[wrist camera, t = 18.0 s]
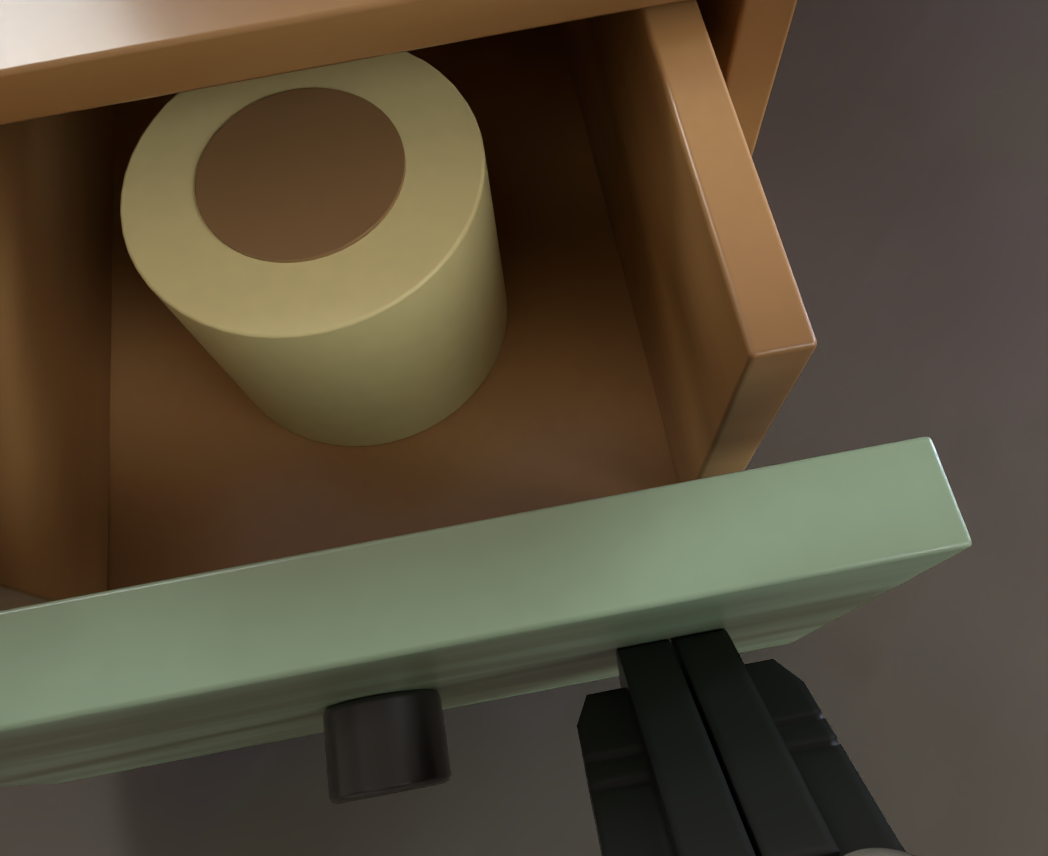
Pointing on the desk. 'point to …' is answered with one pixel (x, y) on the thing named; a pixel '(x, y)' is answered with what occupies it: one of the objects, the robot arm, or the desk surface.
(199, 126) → the tape roll
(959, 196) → the desk surface
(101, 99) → the cabinet
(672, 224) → the drawer
